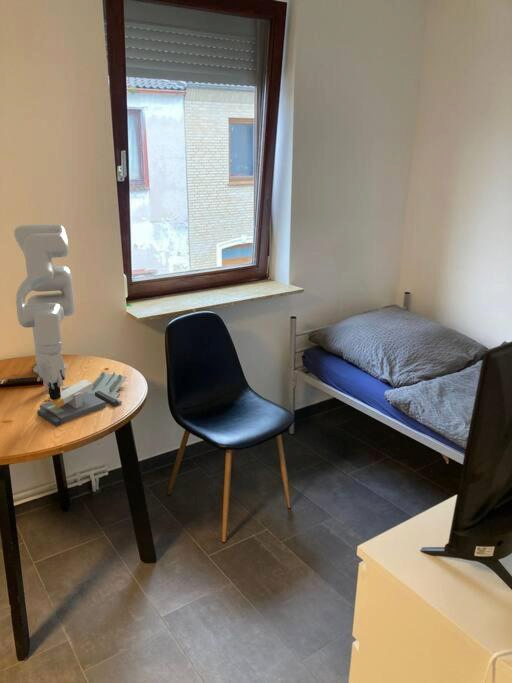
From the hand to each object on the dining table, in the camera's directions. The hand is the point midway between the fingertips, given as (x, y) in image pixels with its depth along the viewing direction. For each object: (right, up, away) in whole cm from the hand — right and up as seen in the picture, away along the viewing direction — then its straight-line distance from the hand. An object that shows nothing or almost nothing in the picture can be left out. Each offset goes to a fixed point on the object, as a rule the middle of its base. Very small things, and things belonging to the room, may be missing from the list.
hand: (55, 397), depth 182 cm
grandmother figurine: (-10, 0, +19) cm, 21 cm away
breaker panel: (+4, -4, +6) cm, 9 cm away
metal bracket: (+11, 0, +23) cm, 25 cm away
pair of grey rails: (+7, -5, +6) cm, 10 cm away
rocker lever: (+4, 0, +5) cm, 6 cm away
